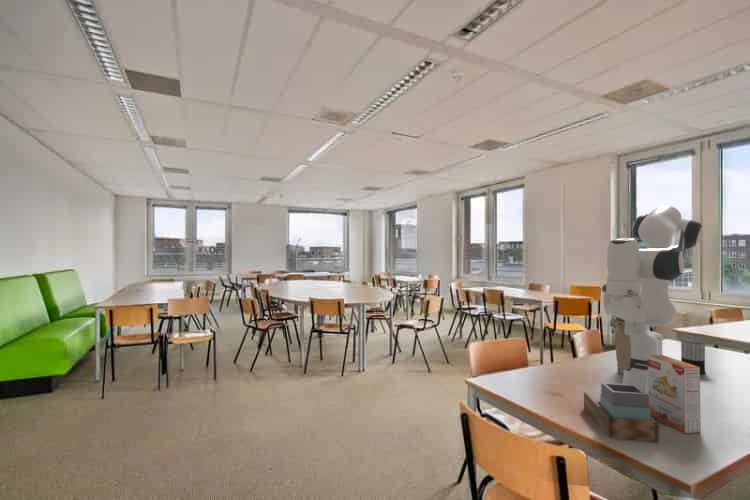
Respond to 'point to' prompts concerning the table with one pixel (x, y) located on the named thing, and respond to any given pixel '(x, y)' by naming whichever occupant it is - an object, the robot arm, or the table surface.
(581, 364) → the table surface
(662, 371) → the cracker box
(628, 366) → the handle
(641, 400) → the box
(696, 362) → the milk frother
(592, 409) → the bay
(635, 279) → the robot arm
